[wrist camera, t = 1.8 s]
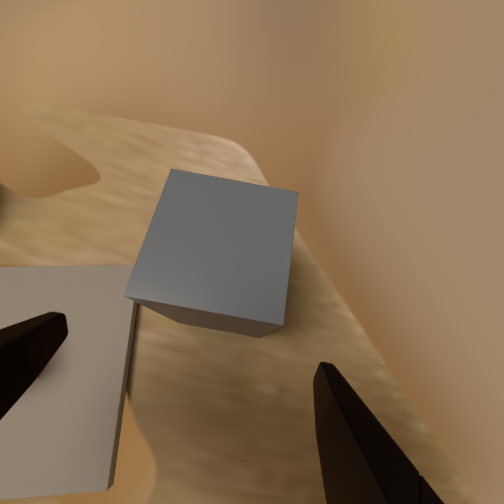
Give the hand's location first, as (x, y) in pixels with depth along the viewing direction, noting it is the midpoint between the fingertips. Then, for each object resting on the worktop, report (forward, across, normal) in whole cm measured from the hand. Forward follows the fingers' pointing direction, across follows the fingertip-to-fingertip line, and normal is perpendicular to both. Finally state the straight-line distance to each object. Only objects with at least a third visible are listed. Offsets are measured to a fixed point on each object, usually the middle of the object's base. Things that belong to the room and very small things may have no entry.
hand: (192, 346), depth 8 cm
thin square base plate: (+5, +13, +10) cm, 17 cm away
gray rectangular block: (+11, 0, +4) cm, 12 cm away
